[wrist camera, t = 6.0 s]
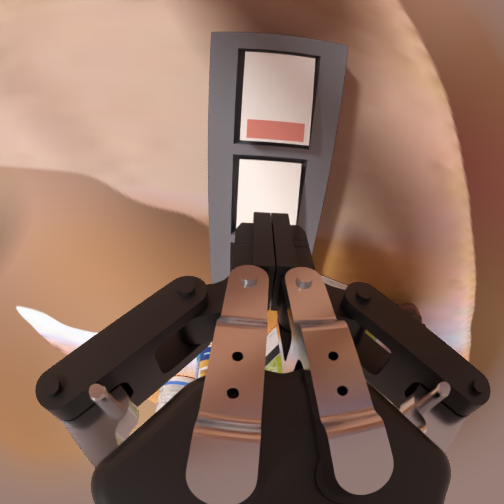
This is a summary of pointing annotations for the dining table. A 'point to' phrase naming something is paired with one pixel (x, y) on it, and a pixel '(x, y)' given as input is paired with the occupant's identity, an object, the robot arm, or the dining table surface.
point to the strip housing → (233, 149)
